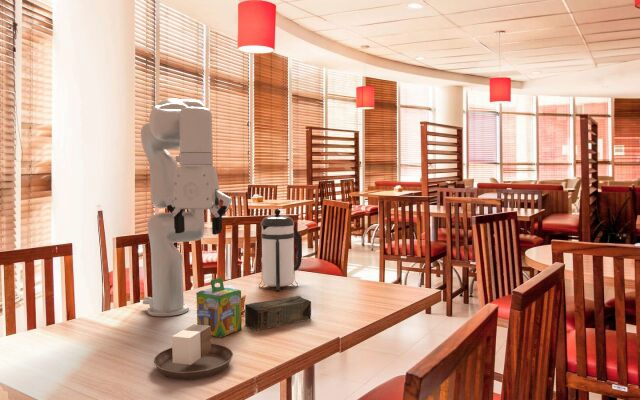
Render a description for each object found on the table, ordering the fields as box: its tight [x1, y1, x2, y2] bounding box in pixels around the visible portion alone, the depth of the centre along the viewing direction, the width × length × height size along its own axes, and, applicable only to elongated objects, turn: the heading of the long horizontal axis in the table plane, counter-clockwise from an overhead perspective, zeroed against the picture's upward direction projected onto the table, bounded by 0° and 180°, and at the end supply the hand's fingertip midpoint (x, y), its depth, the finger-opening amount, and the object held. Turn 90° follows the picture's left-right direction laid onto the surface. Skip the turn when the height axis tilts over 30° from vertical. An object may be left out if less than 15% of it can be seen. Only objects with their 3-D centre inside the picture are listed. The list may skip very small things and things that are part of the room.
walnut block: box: [184, 323, 212, 358], centre depth 120 cm, size 4×4×6 cm
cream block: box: [171, 329, 201, 365], centre depth 116 cm, size 4×4×6 cm
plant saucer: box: [153, 342, 234, 381], centre depth 119 cm, size 18×18×3 cm
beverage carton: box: [244, 295, 312, 332], centre depth 152 cm, size 8×19×7 cm, turn 126°
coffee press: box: [258, 208, 303, 293], centre depth 197 cm, size 17×16×30 cm
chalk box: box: [196, 277, 242, 338], centre depth 144 cm, size 9×9×15 cm
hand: (198, 233), depth 122 cm, fingers open, 9 cm apart
